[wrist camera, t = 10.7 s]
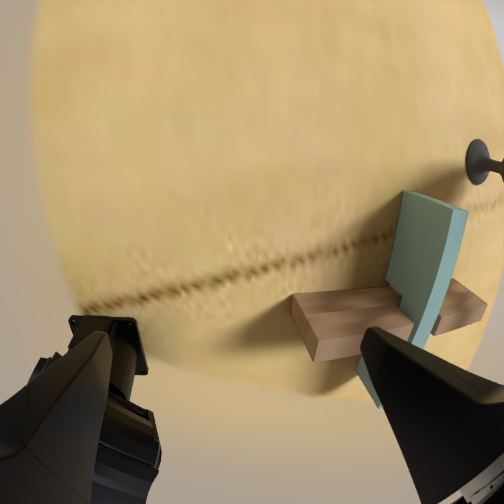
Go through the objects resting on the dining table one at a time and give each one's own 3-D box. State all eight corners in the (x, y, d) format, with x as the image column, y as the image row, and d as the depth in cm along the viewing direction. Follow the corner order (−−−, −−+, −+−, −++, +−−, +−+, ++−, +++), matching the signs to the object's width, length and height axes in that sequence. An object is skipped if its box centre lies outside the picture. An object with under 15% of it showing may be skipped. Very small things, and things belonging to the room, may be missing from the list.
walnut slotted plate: (453, 278, 26) (487, 304, 20) (448, 293, 26) (480, 320, 21) (293, 293, 22) (318, 340, 17) (290, 314, 23) (313, 362, 18)
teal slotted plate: (369, 367, 28) (393, 403, 23) (355, 370, 28) (378, 408, 23) (419, 192, 21) (468, 211, 15) (403, 190, 20) (453, 209, 15)
